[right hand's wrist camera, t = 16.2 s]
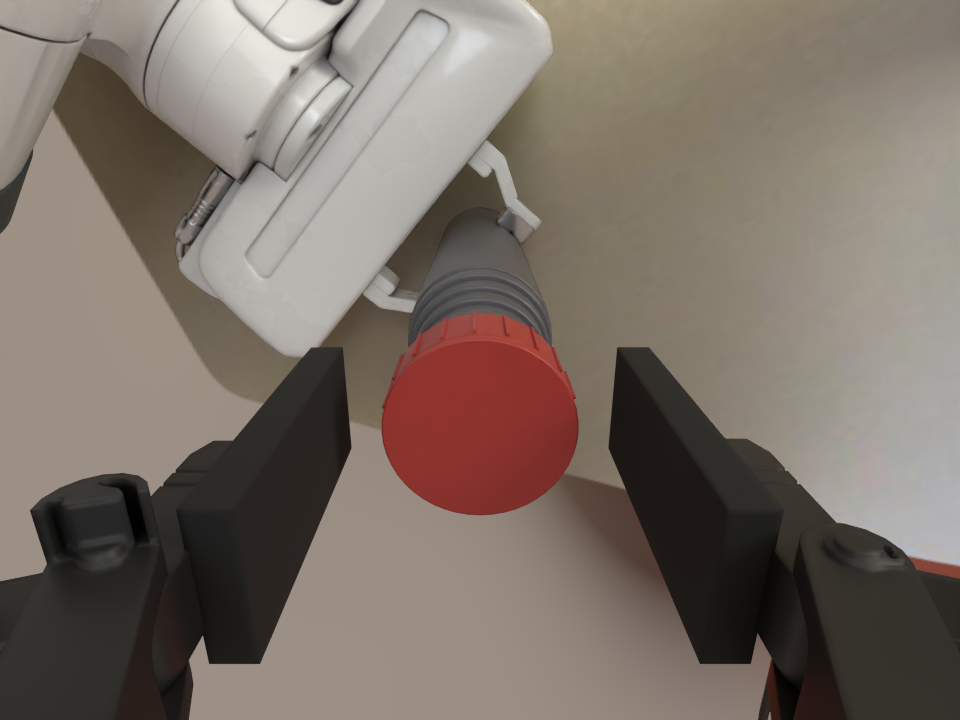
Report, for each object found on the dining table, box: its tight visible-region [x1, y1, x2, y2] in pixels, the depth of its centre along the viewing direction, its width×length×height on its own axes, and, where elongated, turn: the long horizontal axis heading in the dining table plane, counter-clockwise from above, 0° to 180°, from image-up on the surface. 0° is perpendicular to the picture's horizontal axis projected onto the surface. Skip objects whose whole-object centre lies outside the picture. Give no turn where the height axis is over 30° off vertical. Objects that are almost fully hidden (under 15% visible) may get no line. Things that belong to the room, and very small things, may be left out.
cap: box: [382, 312, 578, 515], centre depth 13 cm, size 4×4×2 cm
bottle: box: [408, 208, 552, 348], centre depth 24 cm, size 5×5×24 cm
